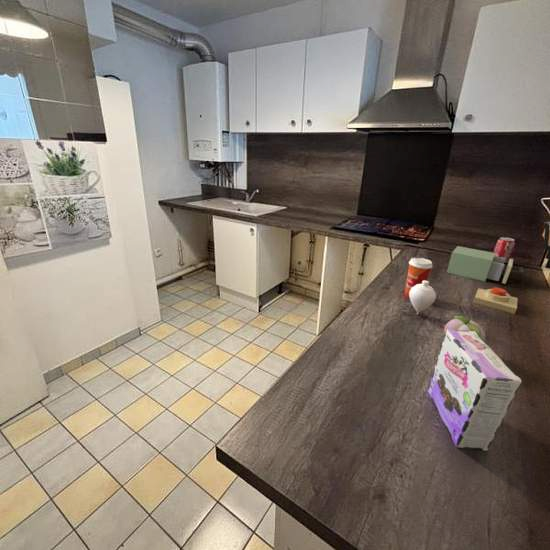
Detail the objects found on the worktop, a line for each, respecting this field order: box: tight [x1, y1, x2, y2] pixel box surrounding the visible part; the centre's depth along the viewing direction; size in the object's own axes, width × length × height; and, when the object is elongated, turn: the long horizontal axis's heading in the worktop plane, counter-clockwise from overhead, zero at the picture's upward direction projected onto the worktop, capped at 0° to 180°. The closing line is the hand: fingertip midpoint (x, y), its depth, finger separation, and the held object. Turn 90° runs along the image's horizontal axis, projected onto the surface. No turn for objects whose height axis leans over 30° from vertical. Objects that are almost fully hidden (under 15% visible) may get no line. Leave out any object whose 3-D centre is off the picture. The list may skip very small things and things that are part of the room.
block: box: [472, 287, 519, 315], centre depth 104 cm, size 12×10×4 cm
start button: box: [491, 286, 507, 296], centre depth 103 cm, size 4×4×2 cm
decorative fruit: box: [443, 315, 486, 342], centre depth 77 cm, size 9×8×10 cm
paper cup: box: [404, 257, 434, 299], centre depth 105 cm, size 8×8×14 cm
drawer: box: [486, 256, 524, 285], centre depth 124 cm, size 18×11×8 cm, turn 51°
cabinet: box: [446, 245, 495, 283], centre depth 129 cm, size 15×13×10 cm
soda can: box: [492, 236, 516, 264], centre depth 144 cm, size 7×7×12 cm
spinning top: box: [409, 280, 437, 315], centre depth 93 cm, size 8×8×12 cm
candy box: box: [427, 330, 522, 452], centre depth 55 cm, size 14×6×16 cm, turn 175°
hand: (547, 267), depth 113 cm, fingers closed
